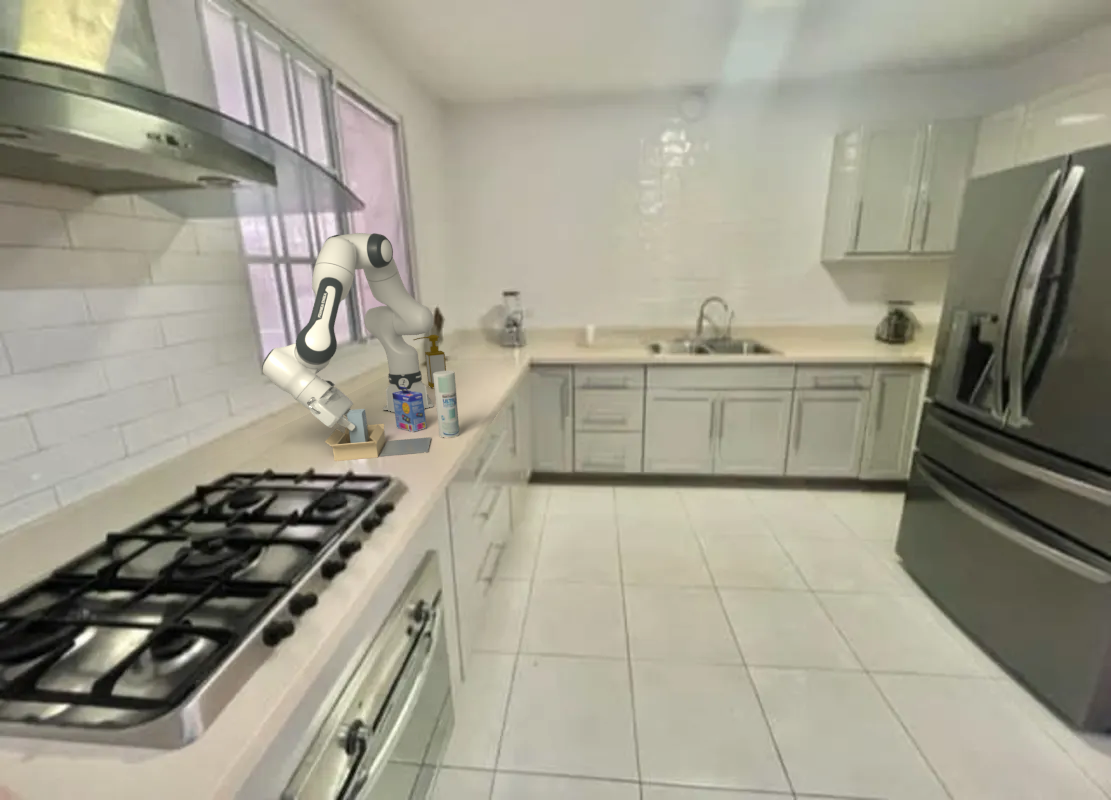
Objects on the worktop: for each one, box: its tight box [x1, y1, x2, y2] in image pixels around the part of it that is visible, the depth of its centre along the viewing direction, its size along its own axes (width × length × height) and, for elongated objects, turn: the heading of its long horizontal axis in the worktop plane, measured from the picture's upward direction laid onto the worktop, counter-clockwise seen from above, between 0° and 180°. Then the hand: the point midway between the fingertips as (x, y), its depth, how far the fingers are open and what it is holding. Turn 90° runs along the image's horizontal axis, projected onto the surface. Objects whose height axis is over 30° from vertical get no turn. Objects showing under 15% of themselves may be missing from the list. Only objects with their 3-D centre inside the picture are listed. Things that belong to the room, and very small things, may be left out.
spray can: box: [433, 370, 460, 438], centre depth 167 cm, size 6×6×20 cm
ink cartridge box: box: [392, 386, 427, 432], centre depth 178 cm, size 10×6×14 cm, turn 51°
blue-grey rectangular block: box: [346, 408, 369, 443], centre depth 156 cm, size 5×4×12 cm
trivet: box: [379, 436, 432, 457], centre depth 159 cm, size 13×13×1 cm
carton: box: [324, 423, 386, 462], centre depth 157 cm, size 19×14×6 cm
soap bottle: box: [412, 334, 447, 388], centre depth 243 cm, size 7×13×24 cm, turn 115°
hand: (356, 425), depth 156 cm, fingers closed on blue-grey rectangular block, 5 cm apart
